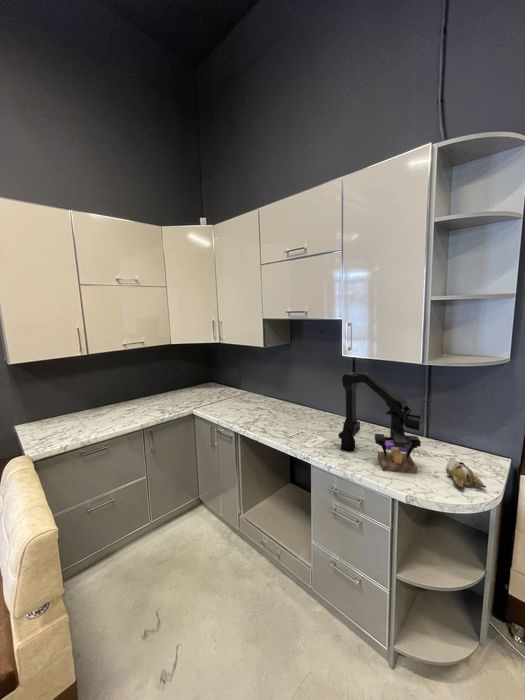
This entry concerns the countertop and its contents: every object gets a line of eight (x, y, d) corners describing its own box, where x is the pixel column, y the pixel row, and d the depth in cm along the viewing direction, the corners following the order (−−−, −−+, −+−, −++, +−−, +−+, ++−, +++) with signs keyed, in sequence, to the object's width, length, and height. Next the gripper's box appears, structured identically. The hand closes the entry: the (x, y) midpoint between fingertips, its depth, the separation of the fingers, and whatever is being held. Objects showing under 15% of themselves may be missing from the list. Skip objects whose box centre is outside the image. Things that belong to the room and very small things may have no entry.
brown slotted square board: (382, 470, 136) (382, 465, 135) (377, 456, 149) (377, 451, 149) (416, 473, 133) (417, 468, 132) (408, 458, 146) (408, 453, 146)
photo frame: (309, 447, 160) (285, 437, 173) (309, 449, 160) (285, 439, 173) (327, 439, 169) (302, 430, 183) (327, 441, 169) (302, 432, 183)
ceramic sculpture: (463, 453, 131) (489, 473, 117) (462, 471, 133) (487, 493, 118) (439, 454, 131) (461, 474, 117) (437, 472, 133) (459, 494, 118)
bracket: (409, 447, 159) (409, 434, 158) (410, 453, 153) (410, 439, 152) (384, 444, 163) (384, 431, 163) (384, 449, 157) (384, 436, 156)
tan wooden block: (394, 468, 137) (394, 454, 137) (390, 460, 145) (391, 447, 144) (401, 469, 137) (402, 455, 136) (397, 460, 144) (398, 447, 144)
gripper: (378, 430, 133) (377, 464, 135) (425, 433, 129) (423, 468, 131) (374, 421, 144) (373, 453, 146) (417, 423, 140) (416, 456, 142)
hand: (396, 457), depth 141 cm, fingers open, 9 cm apart
